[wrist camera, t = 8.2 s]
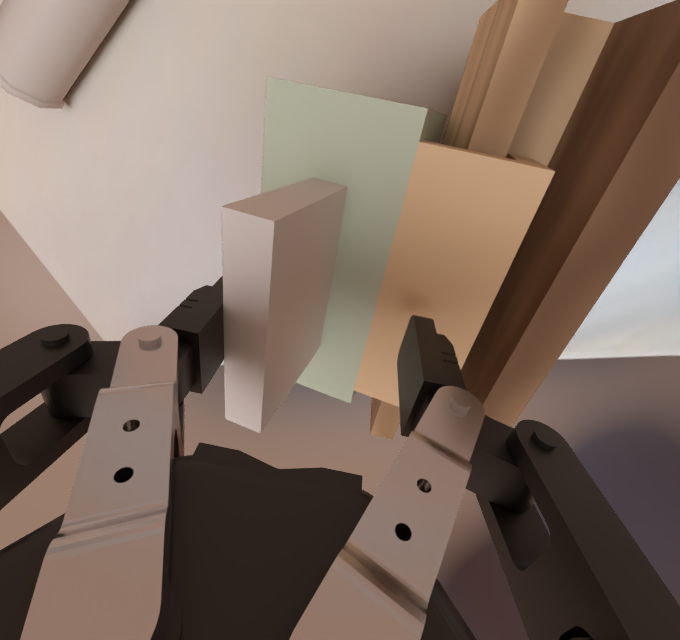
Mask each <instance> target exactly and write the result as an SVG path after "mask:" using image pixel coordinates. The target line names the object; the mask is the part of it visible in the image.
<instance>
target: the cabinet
mask: <svg viewBox="0 0 680 640" xmlns="http://www.w3.org/2000/svg"><path fill="white" fill-rule="evenodd" d="M446 117H447V116H445V115H443V114H440V113H438V112H435V111H433V110H431V109H428V108H424V107H419V106H414V105H408V104H403V103H398V102H393V101H388V100H383V99H378V98H373V97H368V96H363V95H358V94H353V93H347V92H342V91H337V90H332V89H327V88H322V87H317V86H312V85H307V84H302V83H297V82H292V81H286V80H281V79H276V78H271V77H266V96H265V119H264V142H263V166H262V189H261V194H259V195H256V196H253V197H250V198H246V199H243V200H240V201H237V202H234V203H231V204H227V205H224V206H221V212H222V266H223V320H224V372H225V419H227V420H230V421H232V422H234V423H237V424H239V425H241V426H244V427H246V428H249V429H251V430H253V431H256V432H258V433H261V432H262V431H263V429H264V428H265V426H266V425H267V423H268V422H269V420H270V419H271V417H272V416H273V415H274V413H275V412H276V410H277V409H278V407H279V406H280V405H281V403H282V402H283V400H284V399H285V397H286V396H287V394H288V393H289V391H290V390H291V389H292V387H293V386H294V384H295V383H298V384H301V385H303V386H306V387H309V388H311V389H314V390H317V391H319V392H322V393H325V394H327V395H330V396H333V397H335V398H338V399H340V400H343V401H346V402H348V403H351V400H352V398H353V396H354V394H355V391H357V392H360V393H363V394H365V395H368V396H371V397H373V398H376V399H379V400H382V401H384V402H387V403H390V404H392V405H395V406H398V407H399V391H398V374H397V359H398V353H399V349H400V346H401V343H402V340H403V337H404V334H405V332H406V329H407V326H408V323H409V320H410V318H411V316H412V315H417V316H421V317H426V318H431V319H433V320H434V324H435V328H436V332H437V334H442V335H445V336H446V337H447V338H448V340H449V341H450V342H451V343H452V344H453V347H454V350H455V353H456V357H457V360H458V365H459V367H460V370H461V369H462V366H463V364H464V362H465V360H466V358H467V356H468V354H469V352H470V350H471V348H472V345H473V343H474V341H475V339H476V337H477V335H478V333H479V331H480V329H481V327H482V324H483V322H484V320H485V318H486V316H487V314H488V312H489V310H490V308H491V306H492V303H493V301H494V299H495V297H496V295H497V293H498V291H499V289H500V287H501V285H502V282H503V280H504V278H505V276H506V274H507V272H508V270H509V268H510V266H511V264H512V261H513V259H514V257H515V255H516V253H517V251H518V249H519V247H520V245H521V243H522V240H523V238H524V236H525V234H526V232H527V230H528V228H529V226H530V224H531V222H532V219H533V217H534V215H535V213H536V211H537V209H538V207H539V205H540V203H541V201H542V198H543V196H544V194H545V192H546V190H547V188H548V186H549V184H550V182H551V180H552V177H553V175H554V173H555V171H554V170H552V169H550V168H548V167H546V166H545V165H543V164H541V163H539V162H537V161H535V160H533V159H531V158H527V157H522V156H518V155H513V154H508V156H507V158H504V157H499V156H494V155H490V154H485V153H480V152H476V151H471V150H467V149H462V148H457V147H453V146H448V145H443V144H439V141H440V137H441V134H442V130H443V127H444V124H445V120H446Z"/></svg>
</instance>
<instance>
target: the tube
mask: <svg viewBox="0 0 680 640" xmlns="http://www.w3.org/2000/svg"><path fill="white" fill-rule="evenodd" d="M129 1H130V0H3V2H2V4H1V6H0V86H1V87H2V88H3V89H4V90H5V91H6V92H7V93H9V94H11V95H14V96H16V97H18V98H20V99H22V100H24V101H26V102H29V103H31V104H33V105H35V106H37V107H39V108H62V107H63V106H64V102H63V98H64V97H65V95H66V94H67V92H68V91H69V89H70V88H71V86H72V85H73V84H74V82H75V81H76V79H77V78H78V76H79V75H80V73H81V72H82V70H83V69H84V67H85V66H86V64H87V63H88V61H89V60H90V58H91V57H92V55H93V54H94V53H95V51H96V50H97V48H98V47H99V45H100V44H101V42H102V41H103V39H104V38H105V36H106V35H107V33H108V32H109V30H110V29H111V27H112V26H113V25H114V23H115V22H116V20H117V19H118V17H119V16H120V14H121V13H122V11H123V10H124V8H125V7H126V5H127V4H128V2H129Z"/></svg>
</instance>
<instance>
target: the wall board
mask: <svg viewBox="0 0 680 640" xmlns="http://www.w3.org/2000/svg"><path fill="white" fill-rule="evenodd" d="M567 2H568V0H498V1H497V2H496V3H495V4H494V5H493V6H492V7H490V8H489V9H488V10H487V11H486V12H485V13H484V14H483V15H482V16H481V17H480V21H479V24H478V27H477V30H476V34H475V37H474V40H473V44H472V47H471V50H470V54H469V57H468V60H467V63H466V67H465V70H464V73H463V77H462V80H461V83H460V87H459V90H458V93H457V96H456V100H455V103H454V106H453V110H452V113H451V116H450V120H449V123H448V126H447V129H446V133H445V136H444V139H443V143H442V144H443V145H448V146H453V147H457V148H462V149H467V150H471V151H476V152H480V153H485V154H490V155H494V156H499V157H504V158H507V156H508V154H513V155H518V156H522V157H527V158H531V159H533V160H535V161H537V162H539V163H541V164H543V165H545V166H546V167H548V168H550V169H552V170H554V171H555V173H554V175H553V177H552V180H551V182H550V184H549V186H548V188H547V190H546V192H545V194H544V196H543V198H542V201H541V203H540V205H539V207H538V209H537V211H536V213H535V215H534V217H533V219H532V222H531V224H530V226H529V228H528V230H527V232H526V234H525V236H524V238H523V240H522V243H521V245H520V247H519V249H518V251H517V253H516V255H515V257H514V259H513V261H512V264H511V266H510V268H509V270H508V272H507V274H506V276H505V278H504V280H503V282H502V285H501V287H500V289H499V291H498V293H497V295H496V297H495V299H494V301H493V303H492V306H491V308H490V310H489V312H488V314H487V316H486V318H485V320H484V322H483V324H482V327H481V329H480V331H479V333H478V335H477V337H476V339H475V341H474V343H473V345H472V348H471V350H470V352H469V354H468V356H467V358H466V360H465V362H464V364H463V366H462V369H461V373H462V377H463V380H464V383H465V387H466V390H467V391H468V392H470V393H471V394H473V395H474V396H475V397H476V398H478V400H479V401H480V402H481V403H482V405H483V407H484V409H485V415H487V416H488V417H490V418H492V419H494V420H496V421H498V422H501V423H503V424H505V425H507V426H509V427H512V426H513V425H514V423H515V421H516V420H517V419H518V417H519V416H520V414H521V413H522V411H523V410H524V408H525V407H526V405H527V404H528V402H529V401H530V399H531V398H532V396H533V395H534V393H535V392H536V390H537V389H538V387H539V386H540V384H541V383H542V382H543V380H544V379H545V377H546V376H547V374H548V373H549V371H550V370H551V368H552V367H553V365H554V364H555V362H556V361H557V359H558V358H559V356H560V355H561V353H562V352H563V350H564V349H565V347H566V346H567V344H568V343H569V341H570V340H571V338H572V337H573V335H574V334H575V333H576V331H577V330H578V328H579V327H580V325H581V324H582V322H583V321H584V319H585V318H586V316H587V315H588V313H589V312H590V310H591V309H592V307H593V306H594V304H595V303H596V301H597V300H598V298H599V297H600V295H601V294H602V292H603V291H604V289H605V288H606V286H607V285H608V284H609V282H610V281H611V279H612V278H613V276H614V275H615V273H616V272H617V270H618V269H619V267H620V266H621V264H622V263H623V261H624V260H625V258H626V257H627V255H628V254H629V252H630V251H631V249H632V248H633V246H634V245H635V243H636V242H637V240H638V239H639V237H640V236H641V235H642V233H643V232H644V230H645V229H646V227H647V226H648V224H649V223H650V221H651V220H652V218H653V217H654V215H655V214H656V212H657V211H658V209H659V208H660V206H661V205H662V203H663V202H664V200H665V199H666V197H667V196H668V194H669V193H670V191H671V190H672V188H673V187H674V186H675V184H676V183H677V181H678V180H679V178H680V0H676V1H673V2H670V3H668V4H665V5H662V6H660V7H657V8H654V9H651V10H649V11H646V12H643V13H641V14H638V15H635V16H632V17H630V18H627V19H624V20H622V21H619V22H616V23H611V22H607V21H602V20H597V19H593V18H588V17H583V16H578V15H574V14H569V13H564V10H565V7H566V5H567ZM371 399H372V400H371V425H370V434H371V435H376V436H380V437H385V438H390V439H393V436H394V434H395V432H396V429H397V427H398V424H399V422H400V408H399V407H398V406H395V405H392V404H390V403H387V402H384V401H382V400H379V399H376V398H373V397H371Z"/></svg>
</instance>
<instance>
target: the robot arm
mask: <svg viewBox="0 0 680 640" xmlns="http://www.w3.org/2000/svg"><path fill="white" fill-rule="evenodd" d="M223 360H224V320H223V276H222V277H221V278H220V279H219V280H218V281H217V282H216V283H215V284H214V285H213V286H208V285H206V286H204V287H201V288H199V289H197V290H194V291H193V292H192V293H191V294H190V295H189V296H188V297H187V298H186V300H184V301H183V302H182V303H181V304H180V305H179V306H178V307H176V308H175V309H174V310H173V311H172V312H171V313H170V314H169V315H168V316H167V317H166V318H165V319H164V320H163V321H162V322H161V323H160V324H159V325H158V326H157V325H152V326H144V327H140V328H137V329H134V330H132V331H130V332H129V333H127V334H126V335H125V336H124V337H123V338H122V340H121V341H90V337H89V333H88V331H87V330H86V329H85V328H83V327H81V326H78V325H72V324H60V325H53V326H48V327H45V328H41V329H39V330H37V331H34V332H32V333H30V334H28V335H27V336H25V337H23V338H21V339H19V340H17V341H15V342H13V343H12V344H10V345H8V346H6V347H4V348H2V349H0V426H1V424H2V422H3V421H4V419H5V418H6V417H7V416H8V415H9V414H10V413H12V412H13V411H15V410H16V409H17V408H19V407H20V406H22V405H23V404H25V403H26V402H28V401H29V400H30V399H32V398H33V397H35V396H36V395H38V394H39V393H41V394H42V397H43V399H44V403H43V404H41V405H40V406H39V407H37V408H36V409H34V410H33V411H32V412H31V413H29V414H28V415H26V416H25V417H23V418H22V419H21V420H19V421H18V422H16V423H15V424H14V425H12V426H11V427H10V428H8V429H7V430H5V431H4V432H3V433H1V434H0V510H1V509H2V508H3V507H4V506H6V505H7V504H8V503H9V502H10V501H11V500H12V499H13V498H14V497H15V496H17V495H18V494H19V493H20V492H21V491H22V490H23V489H24V488H26V487H27V486H28V485H29V484H30V483H31V482H32V481H33V480H34V479H35V478H37V477H38V476H39V475H40V474H41V473H42V472H43V471H44V470H45V469H47V468H48V467H49V466H50V465H51V464H52V463H53V462H54V461H56V460H57V459H58V458H59V457H60V456H61V455H62V454H63V453H64V452H66V450H68V449H69V448H70V447H71V446H72V445H73V444H74V443H75V442H77V441H78V440H79V439H80V438H81V437H82V436H83V435H85V434H86V433H87V436H86V439H85V444H84V447H83V450H82V454H81V458H80V461H79V465H78V469H77V473H76V476H75V480H74V483H73V487H72V491H71V494H70V498H69V501H68V505H67V509H66V512H65V513H64V514H63V515H61V516H59V517H57V518H56V519H54V520H52V521H50V522H49V523H47V524H45V525H44V526H42V527H40V528H38V529H37V530H35V531H33V532H31V533H30V534H28V535H26V536H24V537H23V538H21V539H19V540H17V541H16V542H14V543H12V544H10V545H9V546H7V547H5V548H4V549H2V550H0V640H477V639H476V638H475V636H474V635H473V633H472V632H471V630H470V629H469V627H468V626H467V624H466V622H465V621H464V619H463V618H462V616H461V615H460V613H459V612H458V610H457V608H456V607H455V605H454V604H453V602H452V601H451V599H450V598H449V596H448V595H447V593H446V591H445V590H444V588H443V587H442V585H441V584H440V582H439V581H438V579H437V574H438V571H439V568H440V565H441V562H442V559H443V555H444V553H445V549H446V546H447V543H448V540H449V537H450V534H451V531H452V528H453V525H454V522H455V519H456V516H457V513H458V509H459V506H460V503H461V500H462V497H463V494H464V491H465V488H466V489H468V490H470V491H472V492H474V493H475V494H476V496H477V499H478V502H479V505H480V507H481V510H482V513H483V516H484V518H485V521H486V524H487V526H488V529H489V532H490V534H491V537H492V540H493V543H494V545H495V548H496V551H497V554H498V556H499V559H500V562H501V564H502V567H503V570H504V573H505V575H506V578H507V581H508V583H509V586H510V589H511V592H512V594H513V597H514V600H515V603H516V605H517V608H518V611H519V613H520V616H521V619H522V622H523V624H524V627H525V630H526V632H527V635H528V638H529V640H680V606H679V605H678V603H677V601H676V600H675V598H674V597H673V596H672V594H671V593H670V591H669V590H668V588H667V587H666V585H665V584H664V583H663V581H662V580H661V578H660V577H659V575H658V574H657V572H656V571H655V570H654V568H653V567H652V565H651V564H650V562H649V561H648V559H647V558H646V556H645V555H644V553H643V552H642V551H641V549H640V548H639V546H638V545H637V544H636V542H635V540H634V539H633V538H632V536H631V535H630V533H629V532H628V530H627V529H626V527H625V526H624V524H623V523H622V522H621V520H620V519H619V517H618V516H617V514H616V513H615V511H614V510H613V509H612V507H611V506H610V504H609V503H608V501H607V500H606V498H605V497H604V495H603V494H602V493H601V491H600V490H599V488H598V487H597V485H596V484H595V482H594V481H593V479H592V478H591V477H590V475H589V474H588V472H587V471H586V469H585V468H584V466H583V465H582V463H581V462H580V461H579V459H578V458H577V456H576V455H575V453H574V452H573V450H572V449H571V447H570V446H569V444H568V443H567V442H566V441H565V439H564V438H563V437H562V436H561V435H560V434H559V433H557V432H556V431H555V430H553V429H552V428H550V427H549V426H547V425H545V424H543V423H540V422H538V421H534V420H523V421H520V422H519V423H518V424H517V426H516V427H515V428H512V427H509V426H507V425H505V424H503V423H501V422H498V421H496V420H494V419H492V418H490V417H488V416H487V415H485V409H484V407H483V405H482V403H481V402H480V401H479V400H478V398H476V397H475V396H474V395H473V394H471V393H470V392H468V391H467V390H466V387H465V383H464V380H463V377H462V373H461V370H460V367H459V365H458V360H457V357H456V353H455V350H454V347H453V344H452V343H451V342H450V341H449V340H448V338H447V337H446V336H445V335H442V334H437V332H436V328H435V324H434V320H433V319H431V318H426V317H421V316H417V315H412V316H411V318H410V320H409V323H408V326H407V329H406V332H405V334H404V337H403V340H402V343H401V346H400V349H399V353H398V359H397V374H398V391H399V408H400V425H401V435H402V436H406V437H408V438H407V440H406V442H405V444H404V445H403V447H402V449H401V450H400V452H399V454H398V455H397V457H396V459H395V461H394V462H393V464H392V466H391V468H390V469H389V471H388V473H387V475H386V476H385V478H384V479H383V481H382V483H381V485H380V486H379V488H378V490H377V492H376V493H375V495H374V496H372V495H371V494H369V493H368V492H366V491H364V490H362V476H361V475H356V474H351V473H346V472H341V471H336V470H331V469H327V468H301V469H300V468H299V469H277V468H274V467H272V466H270V465H268V464H266V463H264V462H262V461H260V460H258V459H256V458H254V457H252V456H250V455H247V454H246V453H243V452H241V451H239V450H234V449H229V448H224V447H219V446H214V445H209V444H205V443H199V445H198V446H197V448H196V450H195V452H194V454H193V455H188V456H184V430H185V429H184V428H185V421H184V420H185V404H184V398H185V397H186V395H187V394H188V393H189V391H191V392H196V393H201V394H202V393H203V391H204V390H205V388H206V387H207V385H208V383H209V382H210V380H211V379H212V377H213V376H214V374H215V372H216V371H217V369H218V368H219V366H220V365H221V363H222V361H223ZM535 501H536V503H537V505H538V507H539V509H540V511H541V513H542V515H543V517H544V519H545V521H546V523H547V525H548V527H549V530H550V535H549V534H548V531H547V529H546V527H545V525H544V524H543V522H542V519H541V517H540V515H539V513H538V511H537V509H536V507H535V505H534V502H535ZM550 536H551V537H550Z"/></svg>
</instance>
